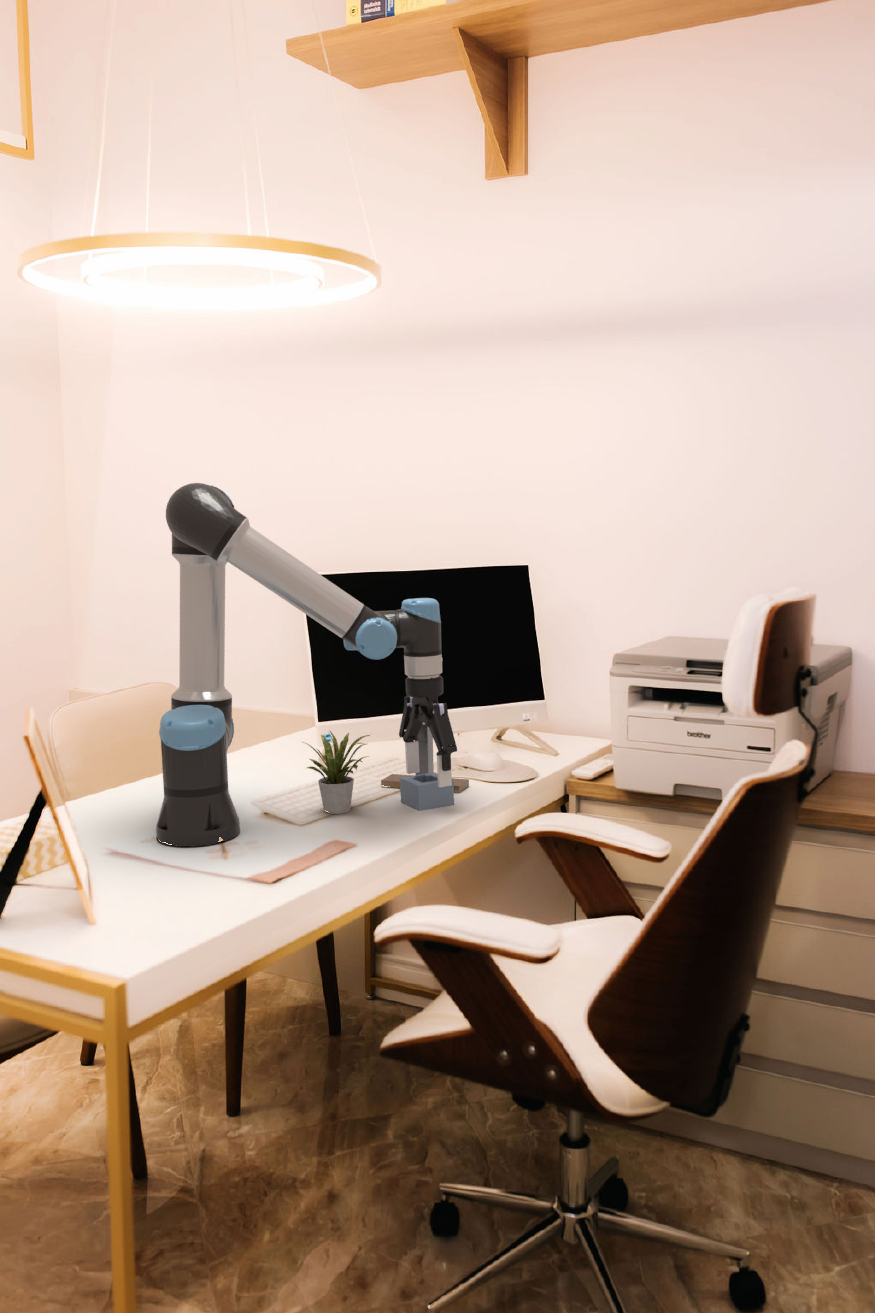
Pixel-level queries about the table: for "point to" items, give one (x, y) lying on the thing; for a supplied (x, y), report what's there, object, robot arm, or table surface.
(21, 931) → the table surface
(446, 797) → the blue-grey hollow block
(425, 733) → the keyed post
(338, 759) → the house plant
